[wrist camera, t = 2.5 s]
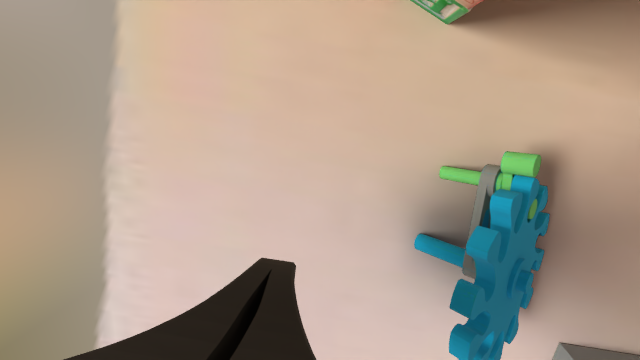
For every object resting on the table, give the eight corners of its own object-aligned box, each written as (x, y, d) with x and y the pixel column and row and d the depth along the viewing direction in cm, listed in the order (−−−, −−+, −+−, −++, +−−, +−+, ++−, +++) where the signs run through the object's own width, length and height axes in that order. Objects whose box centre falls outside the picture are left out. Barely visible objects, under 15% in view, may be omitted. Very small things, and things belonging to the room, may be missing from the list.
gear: (536, 339, 18) (465, 433, 12) (443, 294, 23) (354, 343, 16) (579, 160, 17) (525, 151, 10) (470, 148, 21) (383, 137, 14)
